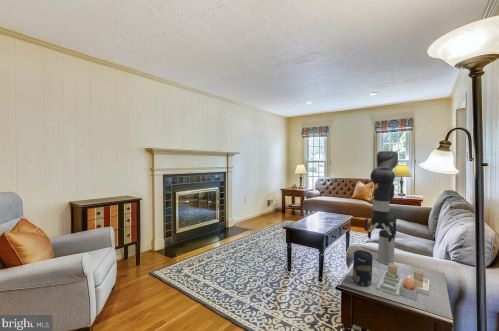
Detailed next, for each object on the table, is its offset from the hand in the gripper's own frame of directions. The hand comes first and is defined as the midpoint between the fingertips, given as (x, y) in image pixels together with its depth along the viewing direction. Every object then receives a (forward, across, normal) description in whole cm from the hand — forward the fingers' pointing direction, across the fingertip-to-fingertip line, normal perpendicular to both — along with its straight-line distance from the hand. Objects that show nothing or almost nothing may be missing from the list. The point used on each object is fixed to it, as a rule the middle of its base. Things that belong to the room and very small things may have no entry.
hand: (379, 240), depth 125 cm
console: (+28, -14, -6) cm, 32 cm away
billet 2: (+27, -20, -17) cm, 38 cm away
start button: (+26, -14, -6) cm, 30 cm away
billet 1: (+26, -8, -16) cm, 32 cm away
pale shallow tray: (+28, -20, -17) cm, 38 cm away
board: (+28, -7, -11) cm, 31 cm away
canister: (+28, +7, -6) cm, 29 cm away
